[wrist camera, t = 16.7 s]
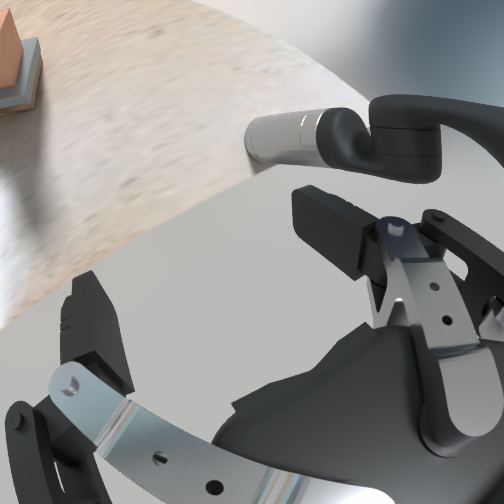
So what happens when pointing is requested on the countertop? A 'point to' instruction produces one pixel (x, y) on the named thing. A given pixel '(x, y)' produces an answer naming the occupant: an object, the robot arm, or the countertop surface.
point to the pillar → (9, 50)
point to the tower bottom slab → (33, 97)
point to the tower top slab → (23, 76)
